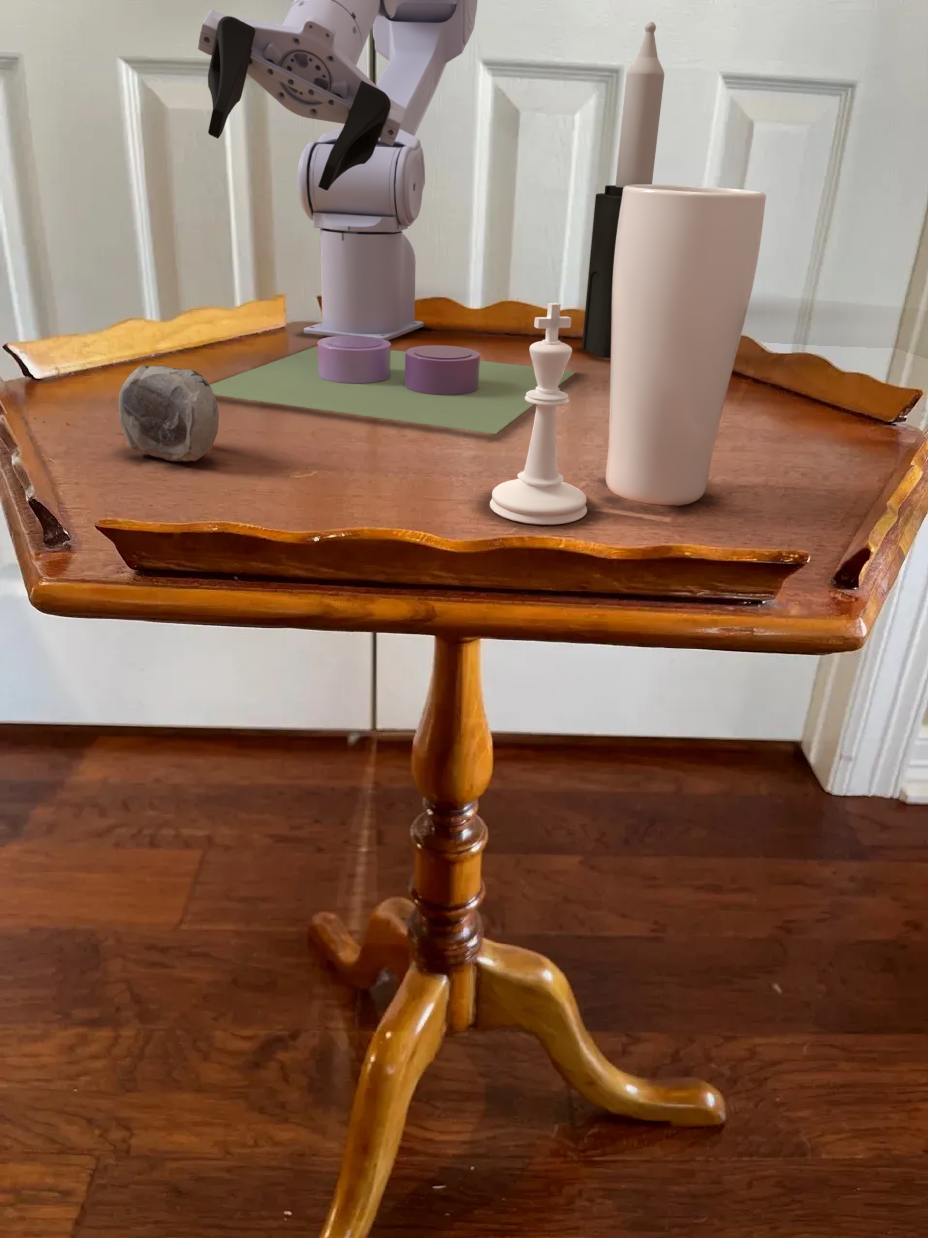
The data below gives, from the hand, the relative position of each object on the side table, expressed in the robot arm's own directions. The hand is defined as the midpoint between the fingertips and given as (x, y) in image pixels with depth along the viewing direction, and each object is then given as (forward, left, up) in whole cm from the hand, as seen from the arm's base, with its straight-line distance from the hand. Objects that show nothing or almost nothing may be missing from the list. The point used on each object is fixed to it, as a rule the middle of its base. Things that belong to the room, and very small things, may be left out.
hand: (272, 151), depth 65 cm
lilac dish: (-4, +4, -15) cm, 16 cm away
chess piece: (+17, +25, -15) cm, 34 cm away
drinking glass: (+12, +30, -15) cm, 36 cm away
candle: (-24, +20, -15) cm, 34 cm away
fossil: (+18, +4, -16) cm, 24 cm away
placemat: (-4, +8, -15) cm, 17 cm away
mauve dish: (-4, +11, -15) cm, 19 cm away
